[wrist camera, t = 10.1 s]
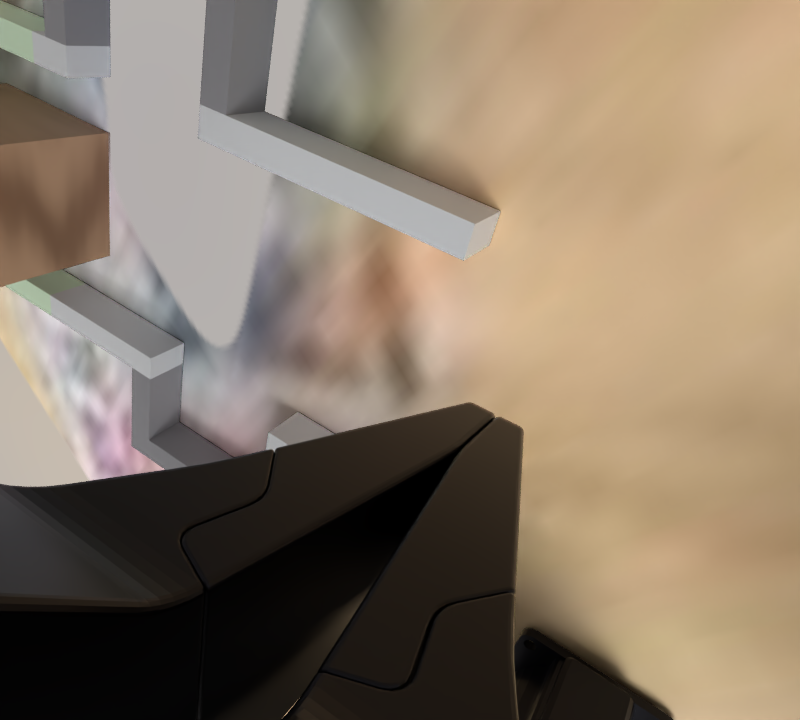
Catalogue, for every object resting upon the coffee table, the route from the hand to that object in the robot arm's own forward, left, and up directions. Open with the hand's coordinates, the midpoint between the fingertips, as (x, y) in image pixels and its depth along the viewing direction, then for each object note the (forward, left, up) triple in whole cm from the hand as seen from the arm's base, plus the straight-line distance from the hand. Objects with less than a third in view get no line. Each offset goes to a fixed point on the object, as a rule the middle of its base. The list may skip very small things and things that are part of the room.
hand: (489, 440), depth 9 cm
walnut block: (-8, +26, -12) cm, 30 cm away
